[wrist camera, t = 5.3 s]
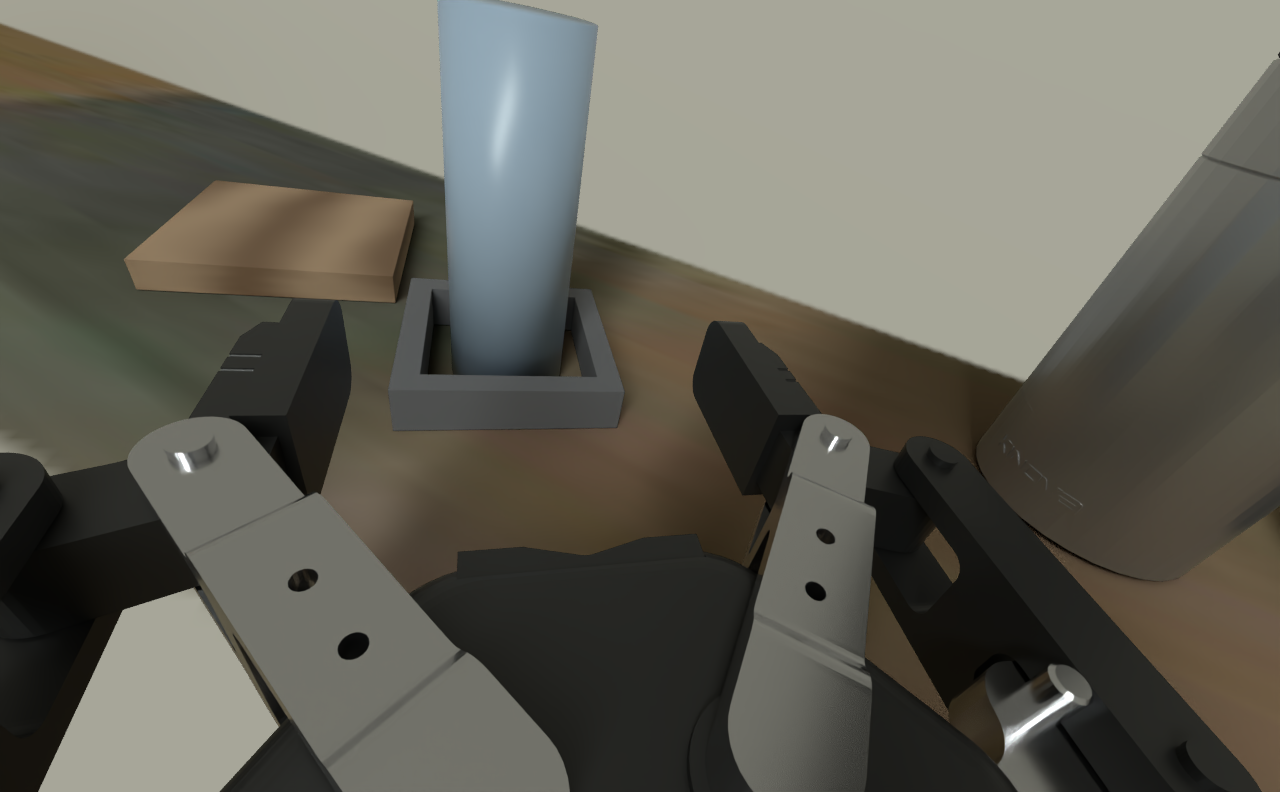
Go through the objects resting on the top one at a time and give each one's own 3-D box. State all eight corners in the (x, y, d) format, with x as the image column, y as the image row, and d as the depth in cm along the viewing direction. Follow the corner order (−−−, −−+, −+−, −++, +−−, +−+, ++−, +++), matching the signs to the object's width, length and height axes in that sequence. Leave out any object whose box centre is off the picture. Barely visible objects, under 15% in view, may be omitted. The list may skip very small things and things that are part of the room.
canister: (554, 339, 28) (585, 18, 20) (565, 398, 24) (610, 33, 16) (453, 335, 27) (441, -12, 18) (449, 398, 23) (431, -3, 14)
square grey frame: (586, 321, 30) (590, 289, 29) (616, 427, 23) (624, 391, 22) (414, 313, 27) (411, 277, 26) (393, 430, 21) (388, 390, 20)
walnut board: (414, 223, 36) (412, 200, 35) (395, 302, 28) (392, 276, 27) (222, 205, 33) (215, 180, 32) (136, 289, 25) (123, 259, 24)
